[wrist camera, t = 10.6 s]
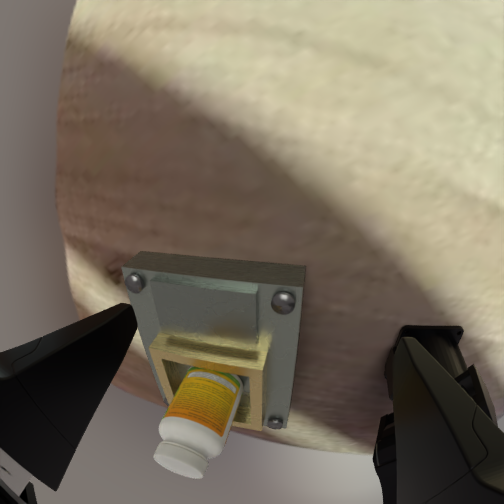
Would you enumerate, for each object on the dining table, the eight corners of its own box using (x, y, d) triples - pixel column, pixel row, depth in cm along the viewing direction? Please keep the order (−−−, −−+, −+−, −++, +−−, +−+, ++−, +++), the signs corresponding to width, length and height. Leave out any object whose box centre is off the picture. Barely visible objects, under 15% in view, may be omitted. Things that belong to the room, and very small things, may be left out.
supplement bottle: (181, 356, 24) (132, 442, 16) (238, 362, 23) (200, 462, 14) (197, 393, 26) (160, 471, 18) (248, 399, 25) (220, 487, 16)
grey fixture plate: (305, 265, 21) (300, 304, 17) (290, 407, 29) (283, 443, 24) (140, 251, 24) (107, 279, 20) (174, 385, 32) (158, 415, 27)
